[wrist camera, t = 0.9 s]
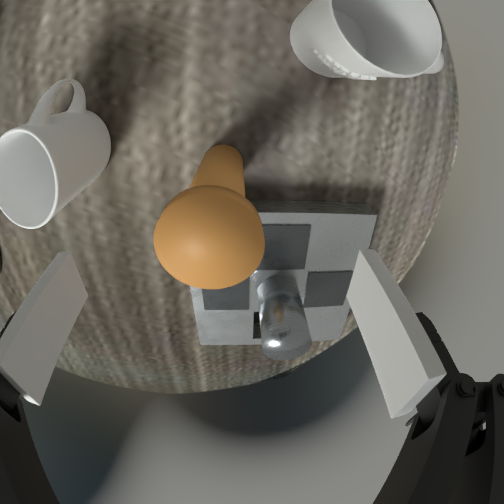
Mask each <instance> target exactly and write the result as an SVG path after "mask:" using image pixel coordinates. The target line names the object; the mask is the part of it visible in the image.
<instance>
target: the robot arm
mask: <svg viewBox="0 0 504 504" xmlns="http://www.w3.org/2000/svg"><path fill="white" fill-rule="evenodd" d="M1 268H2V262H1V255H0V273H1ZM346 297H347V300H348V302H349V304H350V307H351V309H352V312H353V314H354V316H355V319H356V321H357V324H358V326H359V329H360V331H361V334H362V337H363V339H364V341H365V344H366V347H367V349H368V352H369V355H370V358H371V360H372V363H373V366H374V369H375V371H376V374H377V377H378V380H379V383H380V386H381V389H382V392H383V395H384V398H385V401H386V403H387V407H388V410H389V413H390V416H391V418H395V417H398V416H402V415H405V414H408V413H409V412H410V411H411V410H412V409H413V408H414V407H416V408H417V411H418V413H417V414H416V415H414V416H413V417H412V418H411V419H410V420H409V421H408V422H407V423H406V426H408V425H410V424H411V423H412V422H413V423H412V425H411V428H410V430H409V433H408V435H407V438H406V440H405V442H404V445H403V447H402V449H401V451H400V454H399V456H398V458H397V460H396V462H395V464H394V466H393V468H392V470H391V472H390V474H389V476H388V478H387V480H386V482H385V483H384V485H383V487H382V489H381V491H380V492H379V494H378V496H377V497H376V499H375V501H374V502H373V504H504V374H497V375H496V376H495V377H494V378H493V379H492V380H491V381H490V382H475V381H474V380H473V378H472V377H470V376H469V375H467V374H464V373H459V371H458V369H457V368H456V366H455V364H454V362H453V360H452V358H451V356H450V354H449V352H448V350H447V348H446V346H445V345H444V343H443V341H441V337H440V336H439V334H438V333H437V330H436V329H435V327H434V325H433V324H432V322H431V320H429V318H428V317H426V316H425V315H424V314H423V313H422V312H420V313H414V310H413V309H412V307H411V305H410V304H409V302H408V300H407V299H406V297H405V295H404V294H403V292H402V291H401V289H400V287H399V286H398V284H397V283H396V281H395V279H394V278H393V276H392V275H391V273H390V272H389V270H388V269H387V267H386V266H385V264H384V263H383V261H382V260H381V258H380V257H379V255H378V254H377V252H376V251H375V249H360V250H359V254H358V258H357V261H356V265H355V268H354V272H353V276H352V279H351V282H350V286H349V289H348V292H347V296H346ZM87 298H88V294H87V292H86V290H85V287H84V285H83V282H82V280H81V277H80V275H79V272H78V270H77V267H76V265H75V262H74V259H73V256H72V254H71V252H59V253H58V254H57V255H56V257H55V258H54V259H53V261H52V262H51V263H50V264H49V266H48V267H47V268H46V270H45V271H44V272H43V274H42V275H41V276H40V278H39V279H38V280H37V282H36V283H35V285H34V286H33V288H32V289H31V290H30V292H29V293H28V295H27V296H26V298H25V299H24V301H23V302H22V304H21V305H20V307H19V308H18V310H17V311H16V312H15V313H14V314H13V315H12V316H11V317H10V318H9V320H8V321H7V323H6V324H5V326H4V327H5V328H3V330H2V331H1V333H0V334H1V335H0V504H60V503H59V501H58V500H57V497H56V496H55V494H54V492H53V489H52V487H51V485H50V483H49V481H48V479H47V476H46V474H45V472H44V469H43V467H42V464H41V462H40V459H39V457H38V454H37V451H36V449H35V446H34V443H33V440H32V437H31V433H30V430H29V427H28V423H27V420H26V416H25V412H24V408H23V404H22V402H21V400H20V399H19V398H18V397H19V395H20V394H21V395H23V397H24V398H25V399H26V400H28V401H29V402H32V403H35V404H37V405H41V402H42V399H43V396H44V393H45V391H46V388H47V385H48V383H49V380H50V377H51V375H52V372H53V370H54V367H55V365H56V363H57V360H58V358H59V355H60V353H61V351H62V349H63V346H64V344H65V342H66V340H67V338H68V335H69V333H70V331H71V329H72V327H73V325H74V323H75V321H76V319H77V317H78V315H79V313H80V311H81V309H82V307H83V305H84V303H85V301H86V299H87ZM485 422H486V429H485V430H483V425H482V424H483V423H485Z"/></svg>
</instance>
